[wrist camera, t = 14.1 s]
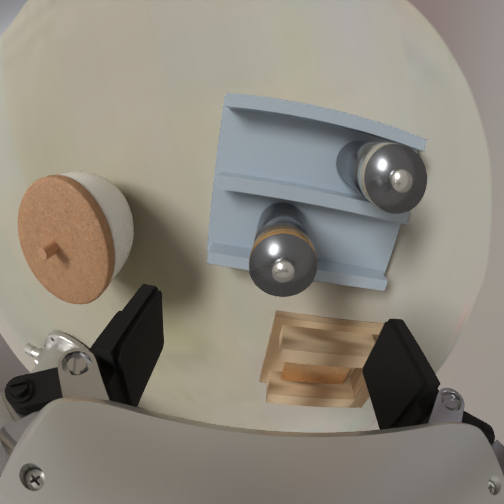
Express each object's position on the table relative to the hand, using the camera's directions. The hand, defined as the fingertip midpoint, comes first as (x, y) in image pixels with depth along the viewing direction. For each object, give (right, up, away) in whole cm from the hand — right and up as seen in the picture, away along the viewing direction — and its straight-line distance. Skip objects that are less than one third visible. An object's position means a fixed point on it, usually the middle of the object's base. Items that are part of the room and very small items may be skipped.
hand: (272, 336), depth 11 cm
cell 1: (+2, +5, +12) cm, 13 cm away
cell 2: (+8, +10, +9) cm, 15 cm away
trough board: (+4, +8, +11) cm, 14 cm away
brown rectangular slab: (+6, -9, +16) cm, 19 cm away
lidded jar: (-15, +7, +14) cm, 22 cm away
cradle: (+7, -8, +18) cm, 21 cm away
